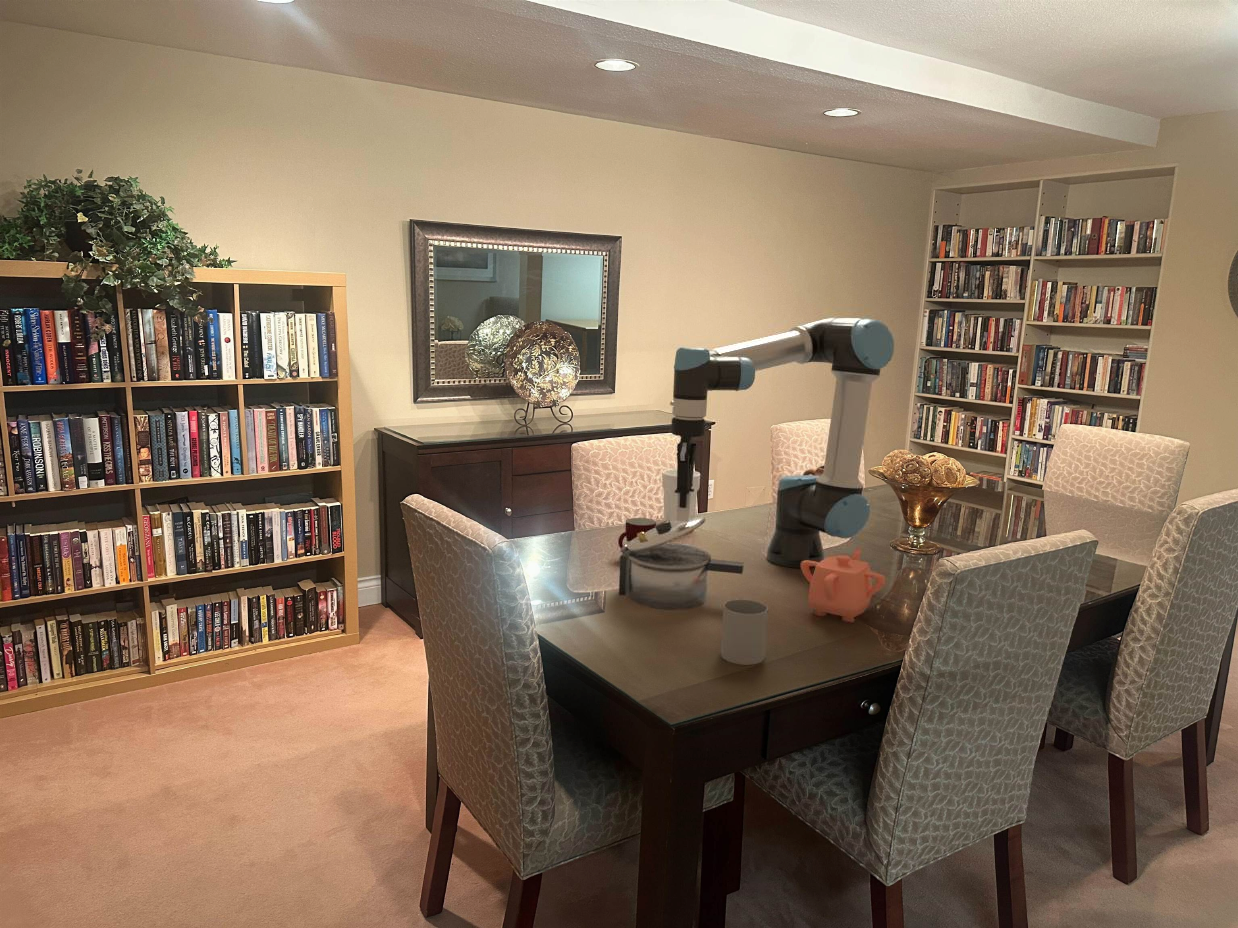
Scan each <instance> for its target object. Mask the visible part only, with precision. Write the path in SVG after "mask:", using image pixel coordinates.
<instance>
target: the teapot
mask: <svg viewBox="0 0 1238 928" xmlns="http://www.w3.org/2000/svg"><path fill="white" fill-rule="evenodd" d="M861 554H862V549H860V548H859V549H856V550H854V551H853V553H852V555H851V557H850V556H848V555H846V554H845V555H843V554H840V555H838V554H837V555H836V556H834V555H832V556H831V555H830V556H828V557H826V558H825V557H824V559H823V560H822V561H820V562H815V561H809V560H805V561H802V562H801V568H800V569H801V572H802V574H803V576H804V577H805V579H806V580H807V581H808V582H809V591H808V605H809V608H810V609H811V610H814V613H813V614H814V615H816V616H819V617H825V616H827V614H831V615H835V616H841V617H842V618H841V620H842V621H843V622H846V623H854V622H855V617H858V616H859V615H861V614H862V613H863V614H864V612H865V611H866V609H867V608H868V606H869V605H870V602H871V600H872V596H873V595H875V594H877V593H878V592H879V591H880V590H881V589H882V588H883V587H884V586H885V584H886V582H887V581H886V577H885V576H884V575H883V574H880V573H878V572H872V571H871V569H870V568H871V567H870V563H869V562H867V561H862V560H860V556H861ZM809 566H815V567H814V572H813V574H812V572H811V570H810V568H809ZM872 578H873V579H875V584H874V585H872V584H873V582H872Z"/></svg>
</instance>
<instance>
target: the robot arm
mask: <svg viewBox="0 0 1238 928" xmlns="http://www.w3.org/2000/svg"><path fill="white" fill-rule="evenodd" d="M894 352H895V341H894V336H893V334H892V331H890V330H889V328H888V326H887V325H886V324H885V323H884V322H882V321H880V320H877V319H872V318H866V317H865V318H857V317H856V318H853V317H852V318H851V317H828V318H825V319H820V320H816V321H812V322H809V323H805V324H802V325H796V326H794V327H792V328H791V329H790V330H789V331H788V332H784V333H780V334H775V335H770V336H767V337H762V338H757V339H754V340H749V341H745V342H739V343H736V344H732V345H731V344H730V345H727V346H722V347H717V348H713V349H708V348H706V347H694V346H693V347H691V346H690V347H689V346H688V347H687V346H684V347H683V346H681V347H679V348H677V350H676V351H675V357H674V365H673V369H674V370H673V371H674V372H673V389H672V390H673V392H672V393H673V396H672V398H673V399H672V401H669V405H670V406H672V412H671V413H672V415H673V416H674V417H672V418H671V426H670V427H671V429H670V433H671V434H672V435H674V436H677V437H680V439H679V440H680V441H679V442H678V443H677V445H676V451H677V452H676V459H677V460H676V461H677V462H676V463H677V464H676V466H677V467H676V469H677V489H676V490H675V493H678V500H677V518H676V521H684V522H688V521H689V514H690V498H691V492H694V489H691V487H692V486H693V484H692V482H693V471H695V470H694V469H695V461H696V452H697V449H698V443H697V442H696V441H695V438H699V437H703V436H704V435H705V433H706V420H705V417H706V416H707V407H708V392H709V391H710V392H712V391H734V392H738V391H746V390H748V389H750V388H751V387H752V385H753V384H754V382H755V378H756V372H757V371H762V370H766V369H770V368H775V367H778V366H782V365H786V364H791V363H795V362H796V364H800V365H805V364H807V363H826V364H831V371H830V372H831V374H832V375H833V376H834V377H835V379H836V380H835V386H834V394H833V401H832V408H831V415H830V423H829V429H828V438H827V443H826V444H827V445H826V451H825V452H826V453H825V459H824V465H823V466H824V472H823V474H822V475H821V476H814V475H803V474H799V475H787V476H783V477H781V478H780V479H779V481H778V487H777V490H776V510H775V512H776V513H775V529H774V532H773V535H772V538H771V540H770V542H769V545H768V547H767V551H766V559H767V560H768V561H769V562H771V563H773V564H776V565H779V566H783V567H788V568H797V569H798V568H799V569H801V562H802V561H805V560H809V561H815V562H820V561H822V560H823V559H825V551H824V548H823V543H822V540H821V536H820V532H821V533H824V534H826V535H828V536H830V537H837V538H840V539H849V538H853V537H854V536H856V535H858V534H859V533H860V532H861V531H862V530H863V529H864V528H865V526H866V524H867V523H868V520H869V518H870V514H871V513H870V512H871V507H870V503H868V502H869V501H868V499H867V498H866V497H865V496H864V495H863V490H864V485H863V483H862V482H861V481H860V479H859V475H860V470H861V461H862V455H863V448H864V442H865V441H864V440H865V434H866V425H867V422H868V421H867V419H868V413H869V406H870V400H871V399H870V398H871V391H872V384H873V383H874V381H876V380H877V379H878V378H880V376H881V375H880V374H881V369H883V368H884V367H886V366H887V365H889V362H891V360H892V358H893V356H894ZM812 568H816V567H815V566H809V569H812Z"/></svg>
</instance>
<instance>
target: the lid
mask: <svg viewBox="0 0 1238 928" xmlns="http://www.w3.org/2000/svg"><path fill="white" fill-rule="evenodd" d="M705 522H706V517H705V515H704V514H702V513H698V514H697V513H695V515H691V516H689V521H688V522H684V521H676V520H674V521H671V522H670V520H667V521H664V520H663V521H662V522H659V523H658V524H657V523H656V526H655V528H654V529H651V530H649V531H647V532H645V533H644V532H640V533H638V534H637V536H638V537H636V538H635V539H633V540H632V541H627V540H626V541H625V543H624V545H623V547H622V548H620V552H621V554H622V553H624V552H625V551H626V550H627V549H628V551H630V552H637V551H642V550H646V549H650V548H653V547H656V546H659V545H662V544H665V543H671V542H673V541H675V540H677V539H679V538H681V537H683V536H686V535H687V534H690V533H692V532H691V531H693V530H694V531H695V530H696V529H698V528H699V527H702V525H703V524H704V523H705ZM694 531H693V532H694ZM689 532H690V533H689Z"/></svg>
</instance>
